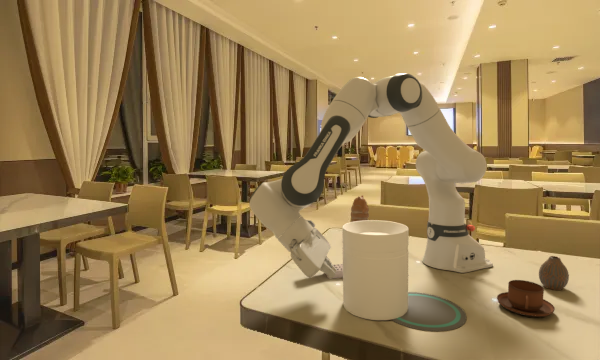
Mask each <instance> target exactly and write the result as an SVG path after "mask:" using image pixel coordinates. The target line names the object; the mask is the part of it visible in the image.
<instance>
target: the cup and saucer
mask: <svg viewBox="0 0 600 360" xmlns="http://www.w3.org/2000/svg"><path fill="white" fill-rule="evenodd" d="M507 285H508V289H507V290H508V291H505V292H501V293H499V294H497V296H496V299H497V302H498V303H499V304H500V305H501V306H502V307H503V308H504V309H506V310H508V311H511V312H513V313H515V314H518V315H523V316H526V317H532V318H533V317H534V318H541V317H547V316H550V315H553V314H554V312H555V310H556V309H555V306H554V304H552V303H551V302H549V301H548V300H546V299H544V293H545V289H544V286H542V285H541V284H538V283H536V282H534V281H529V280H522V279H512V280H509V281H508V284H507Z"/></svg>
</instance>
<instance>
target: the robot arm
mask: <svg viewBox="0 0 600 360" xmlns="http://www.w3.org/2000/svg"><path fill="white" fill-rule="evenodd" d="M397 114H400V115H401V118H402V119H403V121H404V123H405V125H406V127H407V128H408V130H409V133H410V135H411V136H412V138H413V140H414V141H415V144H416V145H417V146H418V147H419V148H421V149H423V150H424V151H421V152H420V153H419V154H418V156H417V157H416V159H415V169H416V171H417V173H418V175H420V177H421V178H422V180H423V182H424V184H425V188H426V192H427V196H428V221H427V224H426V226H427V227H426V236H427V239H426V240H427V242H426V246H425V251H424V255H423V258H422V260H421V261H422V263H423V264H425V265H426V266H429V267H431V268H434V269H439V270H445V271H451V272H456V273H460V274H463V273H468V272H474V271H478V270H482V269H487V268H491V267H492V268H493V267H494V265H493V262H492V261H491V260H490V259H487V258H486V251H485V248H484V246H483V245H482V244H481V243H479V242H478V241H477V240H476V239H475V238H474V237H472V236H471V235H470V234H469V231H470V232H475V230H476V226H475V225H473V224H466V223H465V217H466V216H465V213H466V210H465V209H466V201H465V199H464V198H463V196H462V195H461V194H460V193H459V192H458V190H457V188H456V184H472V183H477V182H479V181H480V180H482V178H484V176H485V174H486V172H487V168H488V167H487V160H486V157H485V156H484V155H483V154H482V152H480V151H477V150H475V149H474V148H472V147H470V146H469V145H468V144H467V143H466V142H464V141H463V140H462V139H461V138H460V137H459V136H458V135H457V134H456V132H454V130H453V129H452V128H451V126H450V124H449V122H448V121H447V119H446V117H445V115H444V113H443V112H442V110H441V108H440V106H439V104H438V102H437V100H436V99H435V98H434V96H433V94H432V93H431V92H430V91H429V89H428V88H427V87H426V86H425V85H424V84H423V83H422V82H419V80H418V78H416V77H415V76H414V75H412V74H410V73H396V74H394V75H391V76H386V77H383V78H380V79H378V80H377V81H375V82H371V81H370V80H369V79H367V78H364V77H362V76H356V77H352V78H351V79H349V80H348V81H347V82H346V83H345V84H344V85H343V86H342V87H340V90H339V91H338V92H337V93H336V94H335V96H334V98H333V99H332V100H331V102H330V104H328V106H327V109H326V111H325V113H324V115H323V118H322V120H321V123H320V127H321V129H320V132H319V133H318V136H317V137H316V138H315V140H314V141H313V143H312V145H311V146H310V148H309V149H308V151H307V152H306V154H305V155H304V156H303V158H301V159H300V160H299V161H297V162H295V163H294V164H293V165H291V166H290V167H288V169H286V170H285V172H284V173H283V175H282V177H281V178H280V179H279V178H278V179H277V180H274V181H273V180H272V181H267V182H266V181H263V182H262V183H260V184H259V185H258V186H257V187H256V189H254V191H253V193H252V194H251V196H250V198H249V208H250V210H251V211H252V213H253V214H254V216H255V218H257V220H258V221H260V223H261V224H262V225H263V226H264V227H265V228H267V229H268V230H269V231H271V232H272V233H273V235H274V236H275V237H274V238H275V239H276V240H277V241H278V242H279V243H280V244H281V245H282V246H283V247H284V248H285V249H286V250H287V251H288V252H290V257H291V260H292V261H293V262H294V263H295V265H296V266H297V267H298V269H299V270H300V271H301V272H302V273H303V274H304V276H306V277H307V278H309V279H312V278H313V277H314V276H316V275H317V273H319V272H322V273H324V274H325V273H326V274H327V275H328V276H329V277H330V278H329V279H334V278H333V277H334V276H335V274H336V272H337V269H336V268H335V267H334V266H333V265H334V264H333V263H332V262H331V260H330V258H329V256H328V253H329V252H330V250H331V248H332V246H331V244H330V242H329V241H328V239H327V238H326V237H325V236H324V235H323V234H322V232H320V230H319V229H317V228H316V224H315V223H314V222H313V221H312V219H311V220H310V219H306V218H304V216H302V214H301V213H300V212H301V211H302V210H303V209H306V208H308V207H310V206H311V205H312V204H313V203H315V202H316V201H317V200H318V199H319V198H320V197H321V195H322V193H323V191H324V187H325V177H326V172H327V170H328V168H329V167H330V165H331V163H332V161H333V160H334V158H335V157H336V155H337V154H338V152H339V150H340V149H341V147H342V146H343V145H344V144H347V143H349V142H351V141H352V140H353V139H354V137H355V136H357V135H358V133H359V131H360V130H362V127H363V126H364V124H365V123H366V121H367V120H368V118H372V119H377V118H384V117H391V116H394V115H397ZM326 274H325V275H326Z"/></svg>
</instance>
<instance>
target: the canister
mask: <svg viewBox="0 0 600 360" xmlns="http://www.w3.org/2000/svg"><path fill="white" fill-rule="evenodd" d="M341 229H342V231H341V232H342V264H343V278H342V292H343V293H342V294H343V295H342V304H343V308H344V309H345V310H346V312H348V313H350V314H351V315H353V316H355V317H357V318H358V317H359V318H362V319H364V320H365V319H366V320H372V321H389V320H391V319H396V318H398V317H401V316H403V315H404V314H405V313H406V312H407V310H408V292H409V231H410V230H409V226H407V225H406V224H403V223H400V222H395V221H390V220H378V219H375V220H374V219H370V220H369V219H368V220H364V221H355V222H352V221H350V222H346V223H344V224H343V225H342V227H341Z"/></svg>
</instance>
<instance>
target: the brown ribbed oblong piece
mask: <svg viewBox="0 0 600 360" xmlns="http://www.w3.org/2000/svg"><path fill="white" fill-rule="evenodd" d="M352 204H353V205H352V206H351V208H350V211H351V212H350V217H351V222H355V221H364V220H369V219H368V218H369V216H370V213H369V210H370V209H369V205H368V202H367V200H366V199H365V198H364V195H363V194H362V195H361V196H357V197H355V198H354V199H353V202H352Z"/></svg>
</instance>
